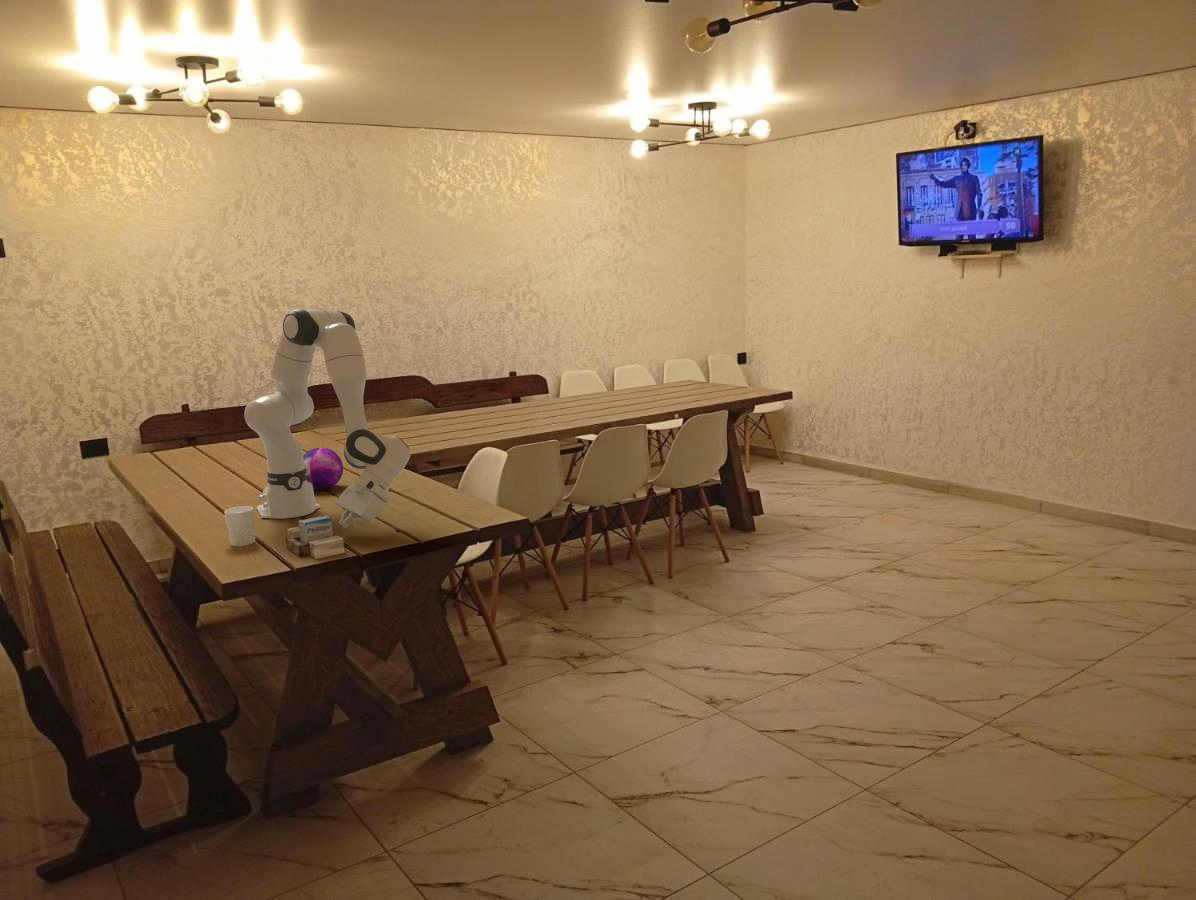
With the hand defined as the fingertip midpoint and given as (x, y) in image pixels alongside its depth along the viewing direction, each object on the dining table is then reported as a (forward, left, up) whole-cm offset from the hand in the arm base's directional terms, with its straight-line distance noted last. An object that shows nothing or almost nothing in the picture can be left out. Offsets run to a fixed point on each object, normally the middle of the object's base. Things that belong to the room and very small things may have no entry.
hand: (342, 526), depth 257 cm
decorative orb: (-66, +20, -5) cm, 69 cm away
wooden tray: (0, -8, -4) cm, 9 cm away
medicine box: (+1, -8, -5) cm, 9 cm away
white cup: (-20, -22, -5) cm, 30 cm away
